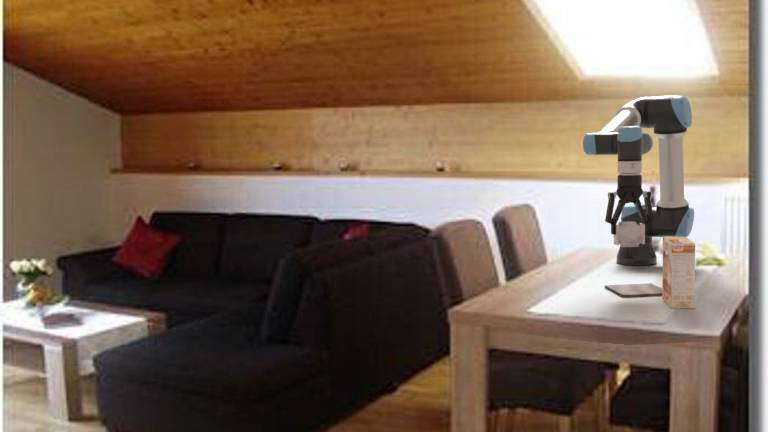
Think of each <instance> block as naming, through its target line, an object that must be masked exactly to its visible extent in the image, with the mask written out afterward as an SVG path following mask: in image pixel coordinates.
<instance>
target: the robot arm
mask: <svg viewBox="0 0 768 432" xmlns="http://www.w3.org/2000/svg"><path fill="white" fill-rule="evenodd" d="M692 119H693V114H692V108H691V104H690V102H689V100H688V98H687V97H686V96H684V95H674V94H673V95H660V96H643V97H639V98H636V99H634V100H631V101H629V102H628V103H626V104H623V106H621V107H620V108H618V110H617V111H616V113H615V116H614V117H613V118H612V119H611V120H609V121H608V122H607V123H606V124H605V125H604V126H603V127H602V128H601V129H599V131H597V132H591V133H590V132H588V133H586V134H585V135H584V137H583V140H582V148H583V149H582V150H583V152H584V153H585V154H586V155H588V156H590V155H591V156H612V155H614V156H617V174H618V175H617V188H616V191H613V192H610V191H609V192H608V193H607V197H608V201H607V207H606V214H605V218H604V219H605V220H604V222H606V223H608V224H610V233H611V235H613V236H614V237H613V245H615V246H619V245H620V244H619V238H618V235H617V232H618V230H619V225H618V222H619V221H618V220H619V219H620V222H633V221H635V222H636V223H637V224H638V225H639V227H640V228H641V229H642V230H643V231H644V234H643V236H642V239H641V241H640V244H639V246H638V247H621V245H620V246H619V248H618V251H617V255H616V263H617V264H620V265H625V266H651V265H650V264H652V265H656V264H657V263H656V262H658V260H657V259H658V257H657V254H656V250H655V247H654V244H653V238H663V237H665V236H676V237H686V238H688V237H689V236H690V234H691V232H692V230H693V227H694V226H693V225H694V220H695V209H694V208H693V207H690V203H689V201H688V200H686V198H685V181H684V179H685V178H684V177H685V175H684V171H685V170H684V141H683V136H684V135H685V134H686V133H687V132H688V128H690V127H691V125H692V121H693V120H692ZM643 129H653V134H654V135H655V136H656V137H657V138H658V139H657V141H658V143H657V144H658V162H659V163H658V167H659V192H660V193H659V195H660V197H659V200H658V202H656V203H655V205H656V206H654V205H653V203H652V200H651V199H652V198H651V197H652V192H651V191H649V190H646V191H645V190H643V189H642V185H643V183H642V182H643V179H642V178H643V176H642V175H641V174H642V170H643V169H642V167H643V163H642V162H643V161H642V160H643V158H642V157H643V155H647V154H648V153H649V152H651V150H652V149H653V147H654V139H653V137H652V136H651V135H650V133H647V132H645V131H643ZM641 196H642V197H643V201H644V202H641V200H640V198H641ZM617 197H618V199H619V200H618V202H617V206H616V208H615V210H614V207H615V201H616V200H615V199H616V198H617ZM630 203H631V204H630ZM626 204H629V205H626ZM655 263H656V264H655Z"/></svg>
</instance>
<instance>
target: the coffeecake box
mask: <svg viewBox="0 0 768 432" xmlns="http://www.w3.org/2000/svg"><path fill="white" fill-rule="evenodd" d="M695 286H696V243H695V242H694V241H692V240H690V239H689V238H688V237H676V236H665V237H662V289H663V295H662V296H661V297H662V299H663V301H664V302H665V303H666V304H667V305H668V306H669V307H670V309H695V307H696V303H695V300H696V299H695V298H696V295H695V294H696V291H695V289H696V287H695Z"/></svg>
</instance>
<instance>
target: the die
mask: <svg viewBox="0 0 768 432" xmlns="http://www.w3.org/2000/svg"><path fill="white" fill-rule="evenodd" d="M617 225H619V230H618V232H617V235H618V238H619V245H621V247H638V246H639V244H640V241H641V239H642V236H643V234H644V231H643V230H642V229H641V228H640V227H639V225H638V224H637V223H636V222H635V221H633V222H621V221H618V223H617ZM613 238H614V235H613Z"/></svg>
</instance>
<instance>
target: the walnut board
mask: <svg viewBox="0 0 768 432" xmlns="http://www.w3.org/2000/svg"><path fill="white" fill-rule="evenodd" d="M604 288H605V289H607V290H608V291H610V292H612V293H613V294H616V295H618V296H619V297H621V298H641V297H662V295H663V287H660V286H659V285H656V284H653V283H631V284H629V283H628V284H626V283H625V284H610V285H609V284H607V285H606V284H605V285H604Z"/></svg>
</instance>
